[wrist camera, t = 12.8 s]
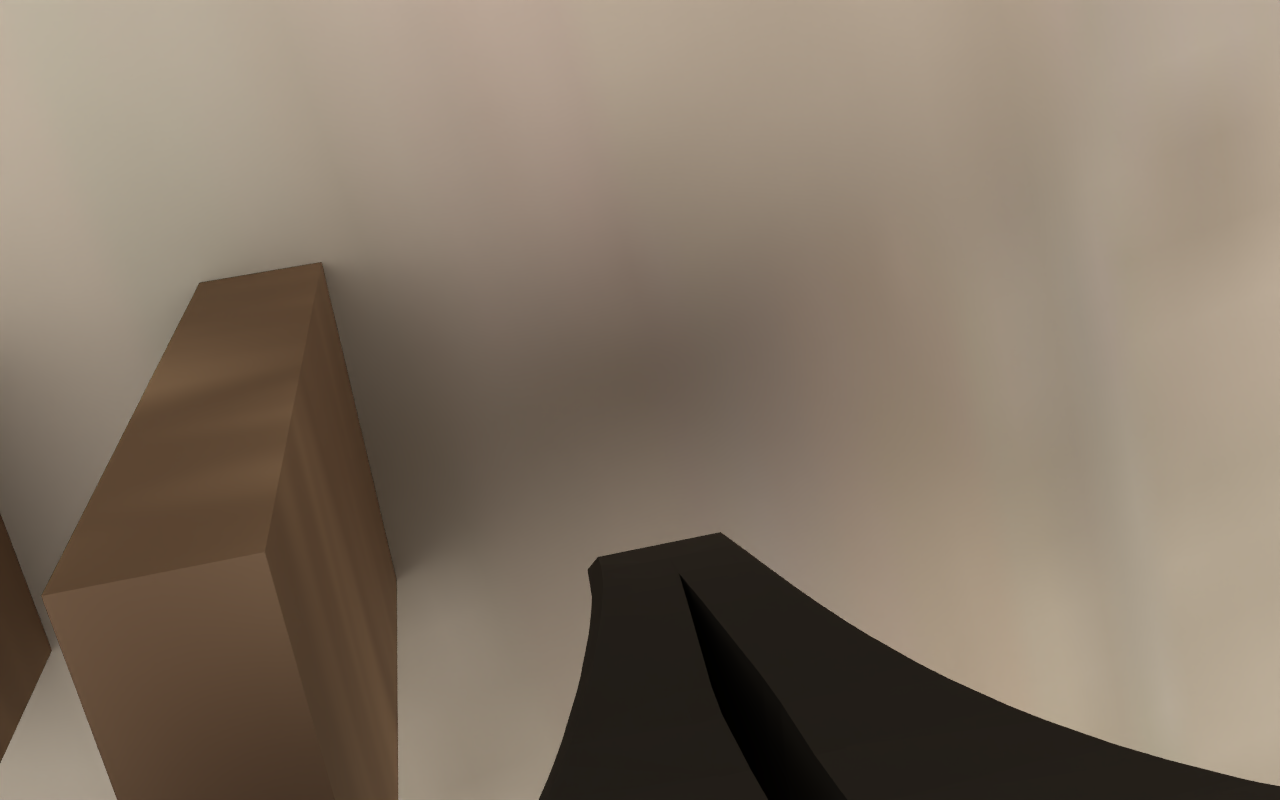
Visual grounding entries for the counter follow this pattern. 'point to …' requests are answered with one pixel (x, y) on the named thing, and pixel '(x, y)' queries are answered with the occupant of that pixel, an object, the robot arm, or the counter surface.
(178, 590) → the walnut domino
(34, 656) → the walnut domino
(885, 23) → the counter surface
